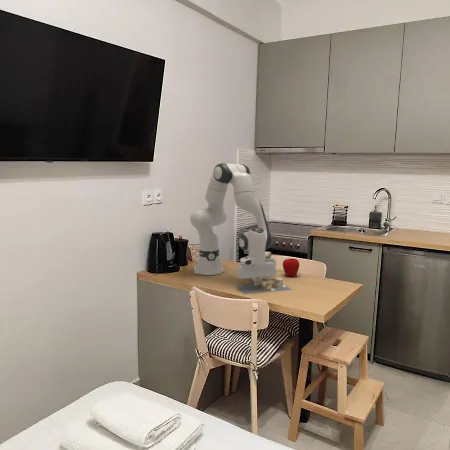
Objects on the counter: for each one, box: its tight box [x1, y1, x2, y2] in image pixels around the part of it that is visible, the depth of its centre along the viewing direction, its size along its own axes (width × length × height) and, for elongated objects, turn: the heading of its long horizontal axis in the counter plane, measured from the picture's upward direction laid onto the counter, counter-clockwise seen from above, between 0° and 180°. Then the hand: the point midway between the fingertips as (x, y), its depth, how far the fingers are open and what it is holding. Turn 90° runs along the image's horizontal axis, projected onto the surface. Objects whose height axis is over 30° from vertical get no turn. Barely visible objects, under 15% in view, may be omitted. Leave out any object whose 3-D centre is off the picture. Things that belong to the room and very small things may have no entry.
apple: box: [282, 257, 300, 277], centre depth 246 cm, size 10×10×11 cm
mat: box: [234, 283, 292, 295], centre depth 221 cm, size 16×26×1 cm, turn 106°
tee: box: [256, 277, 284, 291], centre depth 221 cm, size 12×12×4 cm
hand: (257, 285), depth 219 cm, fingers closed
